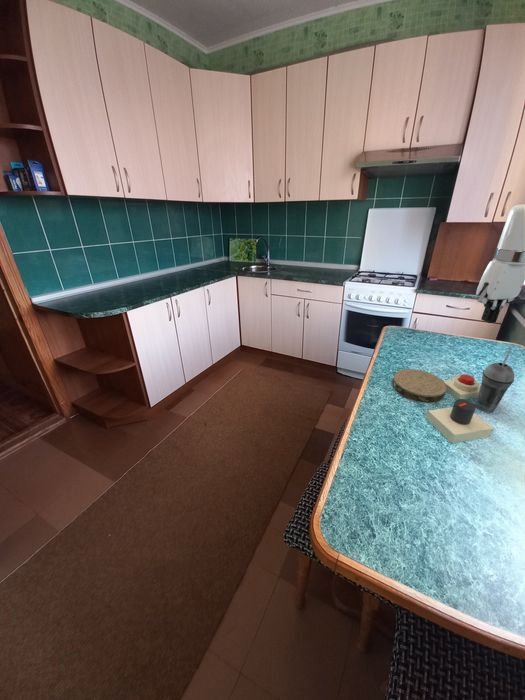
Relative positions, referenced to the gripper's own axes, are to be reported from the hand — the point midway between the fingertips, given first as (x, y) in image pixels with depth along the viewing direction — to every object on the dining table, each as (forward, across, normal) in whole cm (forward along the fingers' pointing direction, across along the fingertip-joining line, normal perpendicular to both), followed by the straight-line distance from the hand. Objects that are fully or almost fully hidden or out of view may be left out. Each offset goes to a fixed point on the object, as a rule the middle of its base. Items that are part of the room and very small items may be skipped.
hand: (488, 321), depth 85 cm
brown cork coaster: (+25, +14, -4) cm, 29 cm away
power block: (+25, 0, 0) cm, 25 cm away
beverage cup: (+25, 0, +9) cm, 27 cm away
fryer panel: (+25, +15, +14) cm, 33 cm away
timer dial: (+22, +15, +14) cm, 30 cm away
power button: (+21, 0, 0) cm, 21 cm away
